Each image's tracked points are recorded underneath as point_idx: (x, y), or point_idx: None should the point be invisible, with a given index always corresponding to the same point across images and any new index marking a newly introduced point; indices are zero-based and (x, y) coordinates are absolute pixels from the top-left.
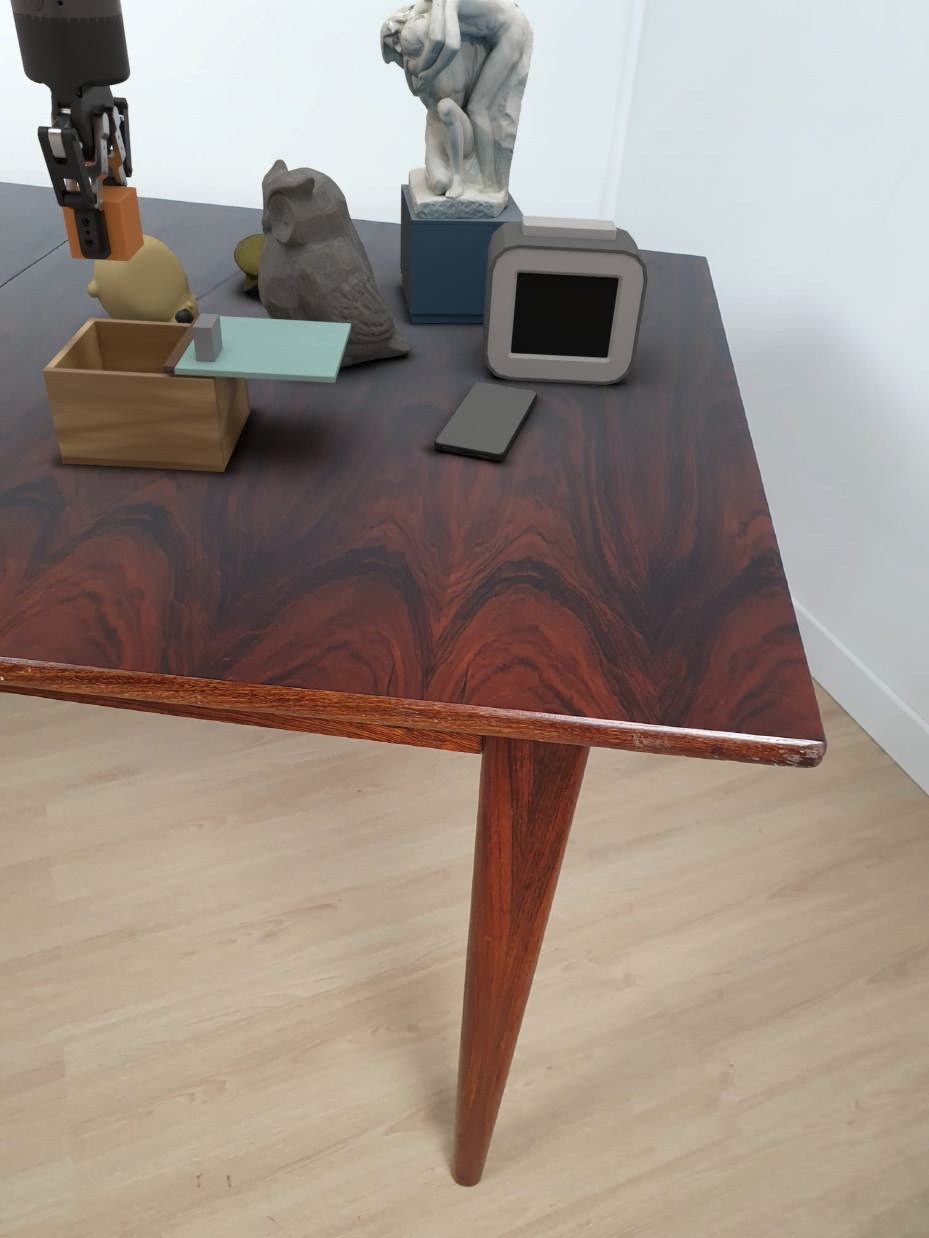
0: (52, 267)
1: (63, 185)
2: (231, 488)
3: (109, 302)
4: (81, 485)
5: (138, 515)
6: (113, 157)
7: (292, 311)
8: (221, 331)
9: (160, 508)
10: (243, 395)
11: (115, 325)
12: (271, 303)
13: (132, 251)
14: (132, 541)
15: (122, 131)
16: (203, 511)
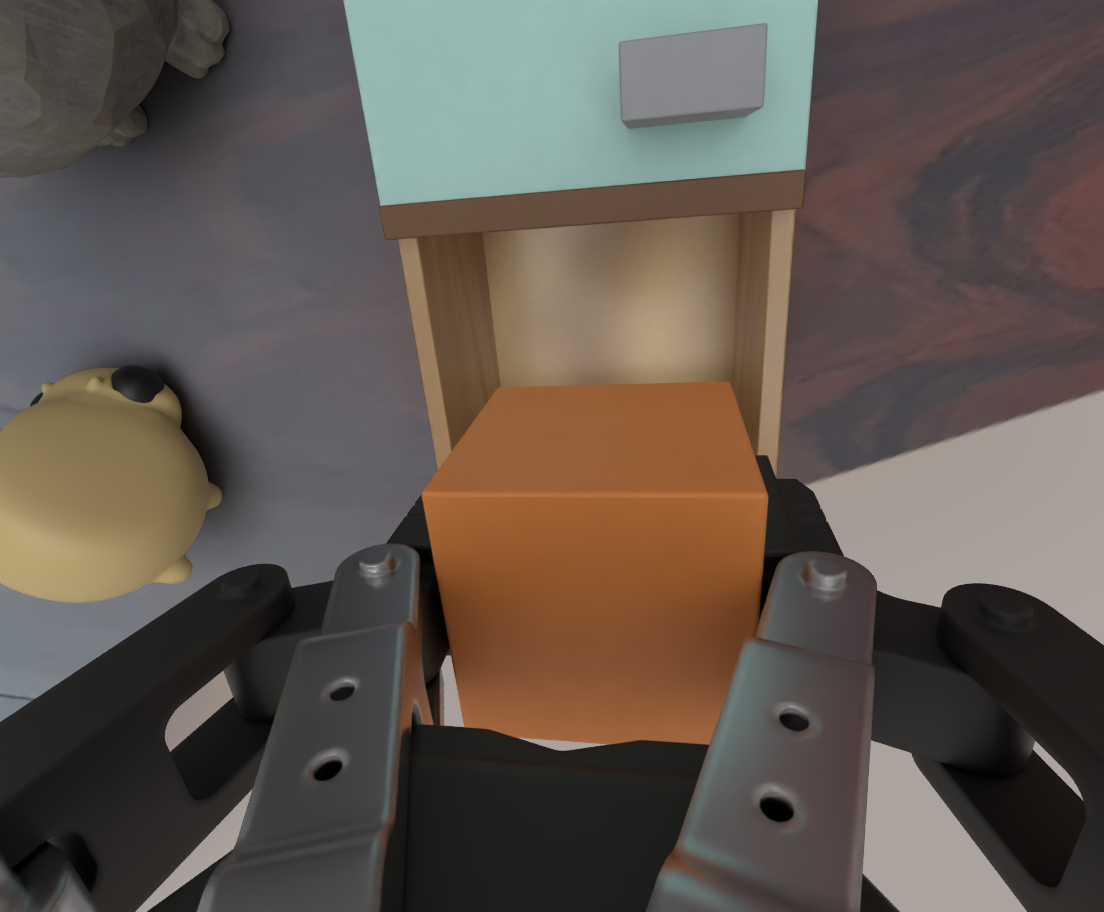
0: (20, 672)
1: (1002, 805)
2: (836, 33)
3: (194, 530)
4: (827, 362)
5: (957, 211)
6: (416, 694)
7: (116, 14)
8: (492, 116)
9: (928, 174)
10: None
11: (453, 447)
12: (106, 99)
13: (660, 388)
14: (1071, 186)
15: (63, 775)
16: (947, 67)
